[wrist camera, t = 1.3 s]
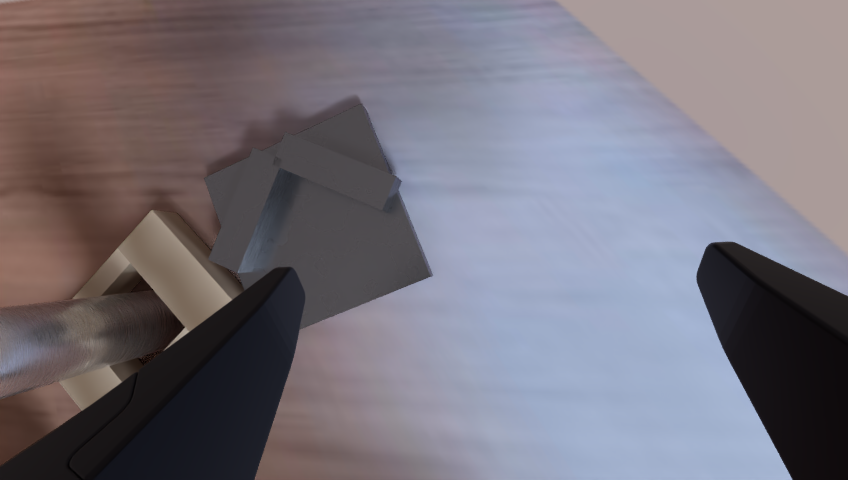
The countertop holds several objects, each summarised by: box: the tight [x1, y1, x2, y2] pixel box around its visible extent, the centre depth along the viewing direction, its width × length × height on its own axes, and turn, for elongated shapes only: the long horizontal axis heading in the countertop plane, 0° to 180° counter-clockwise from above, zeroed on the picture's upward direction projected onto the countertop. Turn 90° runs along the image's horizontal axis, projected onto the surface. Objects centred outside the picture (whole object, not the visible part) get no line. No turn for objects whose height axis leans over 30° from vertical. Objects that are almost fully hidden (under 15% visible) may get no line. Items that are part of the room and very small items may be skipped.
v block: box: [204, 104, 433, 329], centre depth 23 cm, size 11×12×2 cm
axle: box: [0, 290, 183, 399], centre depth 18 cm, size 4×4×16 cm
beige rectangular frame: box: [59, 210, 244, 411], centre depth 25 cm, size 12×8×2 cm, turn 135°
